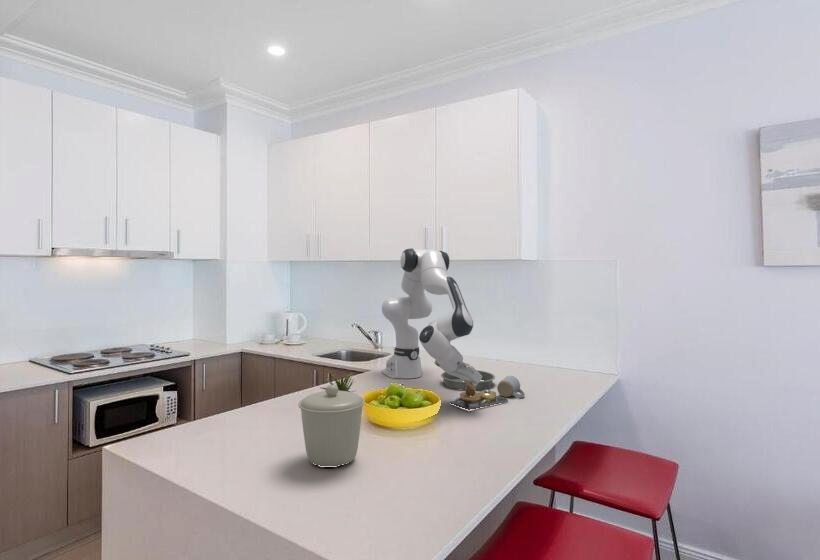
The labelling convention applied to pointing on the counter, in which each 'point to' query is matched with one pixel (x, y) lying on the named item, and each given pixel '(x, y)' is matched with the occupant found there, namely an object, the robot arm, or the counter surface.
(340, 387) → the house plant
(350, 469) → the counter surface
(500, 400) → the carrier plate
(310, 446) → the canister
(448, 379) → the cake pan
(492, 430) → the counter surface
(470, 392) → the brass joystick knob
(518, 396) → the ceramic mug
